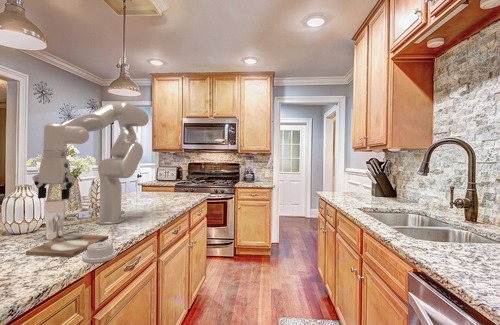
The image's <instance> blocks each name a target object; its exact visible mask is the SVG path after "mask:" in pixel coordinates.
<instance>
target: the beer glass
mask: <svg viewBox="0 0 500 325" xmlns="http://www.w3.org/2000/svg"><path fill="white" fill-rule="evenodd" d="M43 206H44V207H43V218H44V223H45V227H46V232H45V237H44V239H45V240H46V241H53V240H56V239H59V238H61V237H64V235H65V234H64V223H65V219H66V199H64V200H62V199H61V198H54V199H53V198H52V199H46V200H44V205H43Z"/></svg>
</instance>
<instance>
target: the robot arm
mask: <svg viewBox="0 0 500 325" xmlns="http://www.w3.org/2000/svg"><path fill="white" fill-rule="evenodd" d="M149 120H150V118H149V114H148V113H147V112H146V111H145V110H144V109H142V108H140V107H138V106H136V105H134V104H132V103H130V102H126V101H118V102H117V101H116V102H115V101H114V102H108V103H107V104H105V105H103V106H101V107H98V109H95V110H93V111H92V112H90V113H87V114H84V115H81V116H78V117H75V118H73V119H70V120H68V121H65V122H64V123H61V124H60V123H45V125H44V126H43V144H42V145H43V149H42V150H43V151H42V153H43V154H42V158H41V161H40V165H39V170H38V174H35V175H34V176H32V180H33V183H34V185H35V186H36V188H37V189H38V190H37V198H38V199H39V200H40V199H46V197H47V187H46V186H47V185H60V186H61V187H62V189H61V198H60V199H62V200H69V199H70V189H72V187H73V186H74V185H75V182H76V181H77V178H76V177H75V176H73V175H72V174H71V166H70V161H69V159H67V157H69V155H70V154H69V153H68V150H67V148H68V145H83V144H84V143H86V142H88V140H89V138H90V132H97V131H101V130H103V129H105V128H106V127H109V125H111V124H112V123H114V122H116V121H117V123H118V127H119V130H120V132H119V135H118V136H117V138H116V140H115V141H114V144H113V145H112V147H111V149H110V155H111V158H104V159H103V160H101V161H99V163H98V165H97V172H98V176H99V218H97V219H96V220H95V223H96V224H98V225H115V224H119V223H123V222H124V221H125V217H123V216H122V215H124V214H125V210H122V182H121V181H120V179H129V178H131V177H132V176H133V175H134V174H135V173H136V171H137V168H138V166H139V164H140V162H141V160H142V158H143V154H144V148H143V146H142V144H141V143H140V142H137V134H136V132H135V129H134V127H145V126H147V125H148V123H149Z"/></svg>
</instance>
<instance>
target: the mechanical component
mask: <svg viewBox="0 0 500 325" xmlns="http://www.w3.org/2000/svg"><path fill="white" fill-rule="evenodd" d="M117 256H118V250H116V249H115V248H114V243H112V241H103V242H98V243H93V244H91V245H89V246H88V247H87V250H86V252H85V253H84V254H82V261H83V262H84V263H90V264H94V263H95V264H97V263H103V262H107V261H110V260H113V259H115V258H117Z"/></svg>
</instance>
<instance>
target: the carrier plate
mask: <svg viewBox="0 0 500 325" xmlns="http://www.w3.org/2000/svg"><path fill="white" fill-rule="evenodd" d="M108 239H109V235H103V234H100V235H99V234H83V233H82V232H72V233H66V234H64V237H61V238H59V239H56V240H50V241H49V242H47V243H44V244H43V243H42V244H41V245H39V246H36V247H33V248H30V249H28V250H26V251H25V256H43V257H58V258H59V257H62V258H73V257H75V256H77V255H79V254H81V253H84V252H85V251H87V247H88V246H89V245H91V244H93V243H98V242H106V240H108Z"/></svg>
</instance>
